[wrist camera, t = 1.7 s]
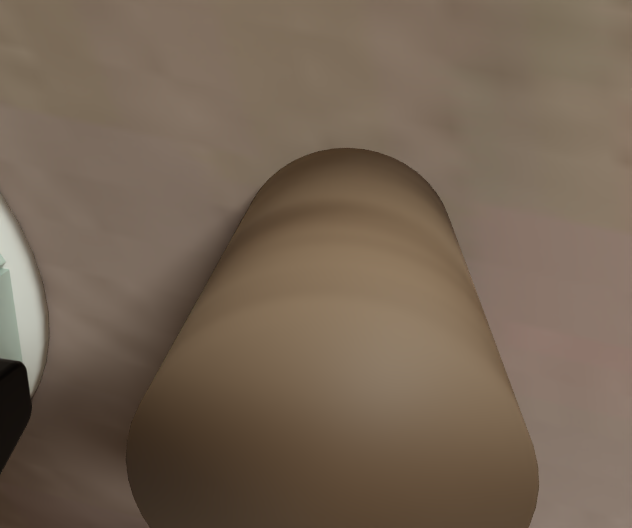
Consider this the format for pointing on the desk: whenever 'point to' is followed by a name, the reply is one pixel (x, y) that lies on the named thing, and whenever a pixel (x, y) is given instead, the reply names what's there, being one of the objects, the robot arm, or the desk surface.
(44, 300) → the ring dish
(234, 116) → the desk surface
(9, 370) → the robot arm
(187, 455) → the brown domed cylinder
